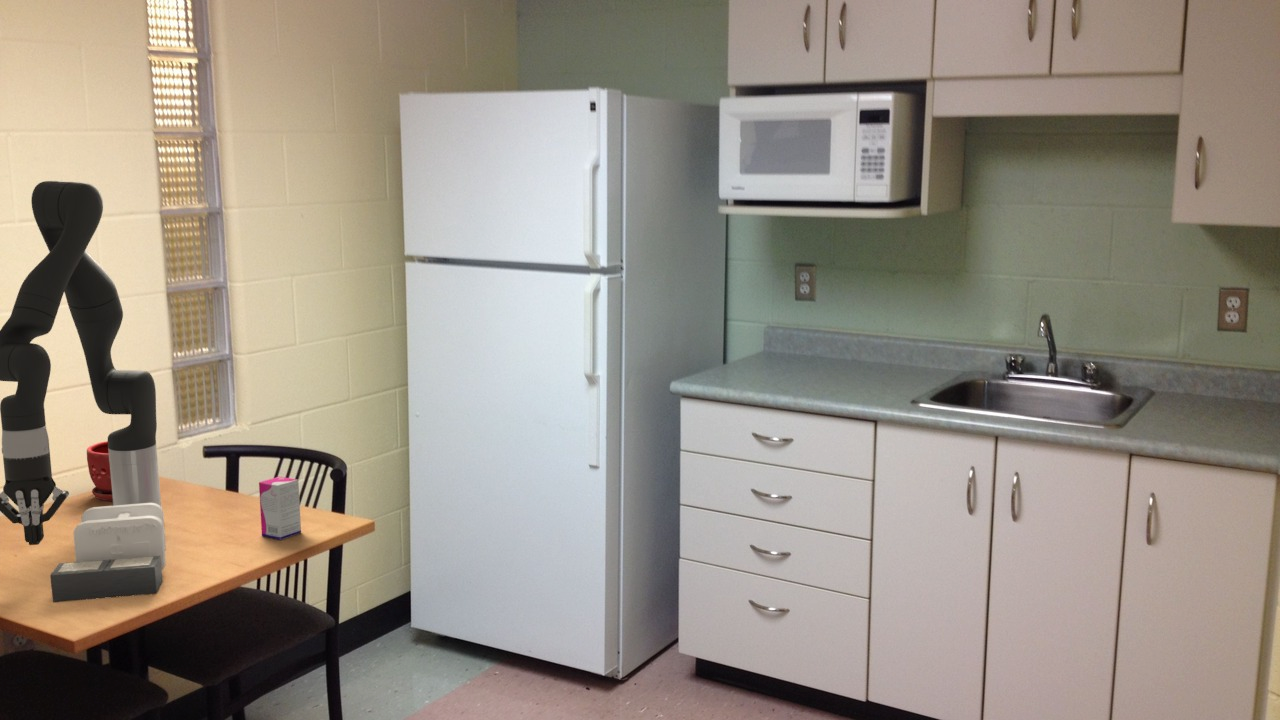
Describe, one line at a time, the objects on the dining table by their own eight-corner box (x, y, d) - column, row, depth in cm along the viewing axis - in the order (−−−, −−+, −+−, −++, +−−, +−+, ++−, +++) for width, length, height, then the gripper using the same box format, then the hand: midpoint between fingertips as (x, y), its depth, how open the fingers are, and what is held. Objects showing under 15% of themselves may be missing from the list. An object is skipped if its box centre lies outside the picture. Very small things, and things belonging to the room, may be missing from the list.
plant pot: (85, 506, 255) (80, 454, 253) (96, 490, 268) (92, 440, 266) (148, 501, 258) (144, 450, 256) (156, 486, 271) (152, 436, 269)
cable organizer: (171, 558, 221) (167, 500, 219) (165, 577, 211) (160, 517, 209) (87, 566, 217) (82, 507, 215) (76, 585, 207) (70, 524, 205)
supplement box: (302, 532, 236) (299, 479, 234) (280, 540, 231) (276, 486, 229) (282, 528, 239) (279, 475, 237) (260, 536, 234) (257, 482, 232)
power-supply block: (61, 590, 205) (59, 562, 204) (162, 581, 209) (160, 554, 208) (53, 602, 199) (50, 574, 198) (156, 593, 203) (154, 565, 202)
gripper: (71, 445, 212) (78, 534, 214) (-8, 449, 209) (1, 540, 211) (60, 454, 205) (68, 547, 207) (-21, 458, 201) (-12, 553, 204)
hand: (34, 543), depth 209 cm, fingers closed
